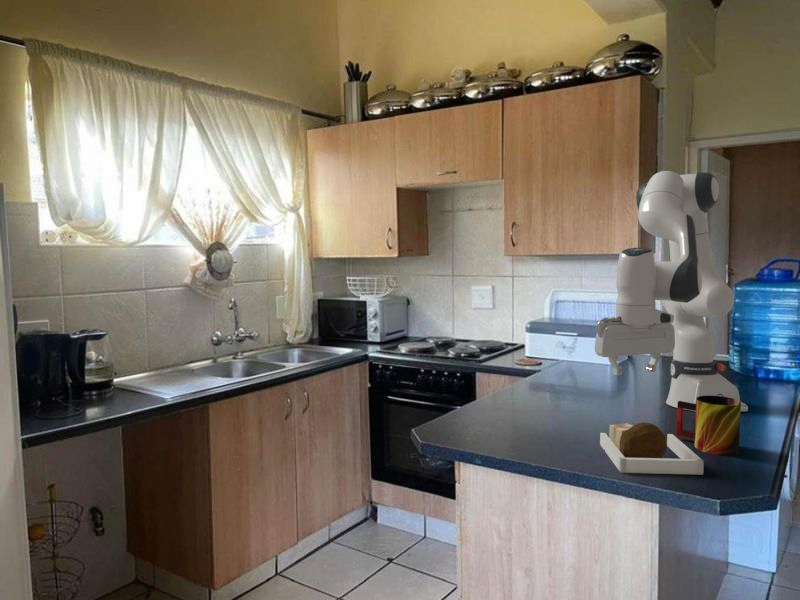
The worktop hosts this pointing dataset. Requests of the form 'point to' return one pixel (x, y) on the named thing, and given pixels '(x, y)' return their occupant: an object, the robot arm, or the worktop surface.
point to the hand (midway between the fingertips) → (634, 373)
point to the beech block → (618, 432)
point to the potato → (643, 442)
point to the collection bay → (655, 459)
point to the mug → (713, 424)
